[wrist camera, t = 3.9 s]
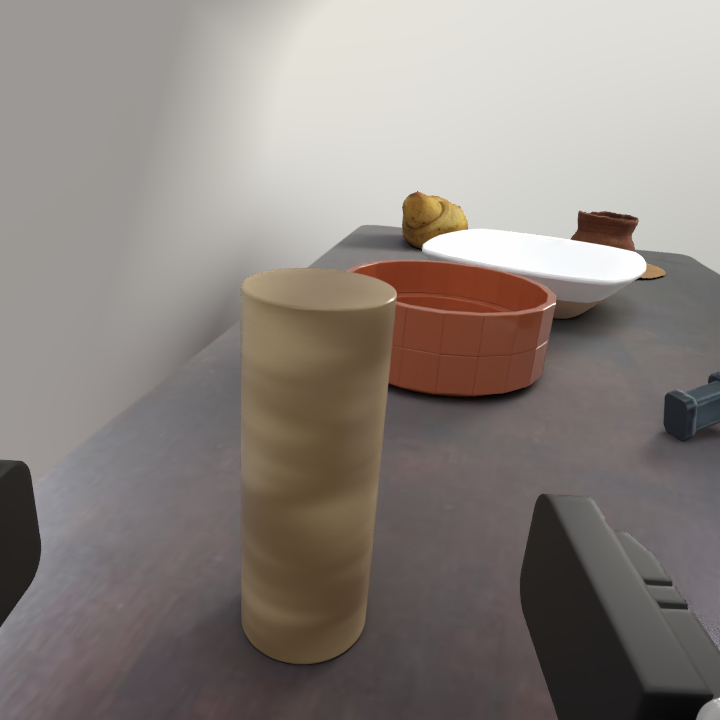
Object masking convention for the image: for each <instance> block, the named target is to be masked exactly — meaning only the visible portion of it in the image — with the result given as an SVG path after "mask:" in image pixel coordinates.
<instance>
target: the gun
mask: <svg viewBox="0 0 720 720" xmlns="http://www.w3.org/2000/svg"><path fill="white" fill-rule="evenodd" d="M717 423H720V371H718V372H716V373H713V374H712V375H710V376H709V379H708V384H707V385H704V386H701V387H698V388H696V389H693V390H690V391H687V392H685V393H684V392H682V391H681V390H679V389H677V390H674V391H671V392H669V393H667V394H666V395H665V405H664V427H665V429H666V431H667V432H669V433H670V434H672V435H673V436H675V437H677V438H678V439H680V440H681V441H683V440H686V439H688V438H691V437H693V436H694V435H695V432H696V431H699V430H702V429H704V428H707V427H709V426H712V425H715V424H717Z"/></svg>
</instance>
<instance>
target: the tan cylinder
mask: <svg viewBox="0 0 720 720" xmlns="http://www.w3.org/2000/svg"><path fill="white" fill-rule="evenodd" d="M396 300H397V293H396V290H395V289H394V288H393V287H392V286H391V285H389V284H388V283H386V282H384V281H381V280H379V279H376V278H373V277H370V276H366V275H362V274H358V273H353V272H347V271H340V270H331V269H316V268H293V269H279V270H272V271H266V272H261V273H258V274H255V275H252V276H250V277H248V278H246V279H245V280H244V281H243V282H242V285H241V622H242V627H243V630H244V632H245V634H246V636H247V638H248V639H249V641H250V642H251V643H252V644H253V645H254V646H255V647H256V648H257V649H258V650H259V651H261V652H262V653H264V654H265V655H267V656H269V657H271V658H273V659H276V660H279V661H282V662H287V663H293V664H312V663H318V662H323V661H326V660H329V659H332V658H334V657H336V656H338V655H340V654H342V653H343V652H345V651H346V650H347V649H349V648H350V647H351V646H352V645H353V644H354V643H355V642H356V640H357V639H358V638H359V636H360V634H361V633H362V630H363V628H364V624H365V619H366V609H367V599H368V588H369V578H370V568H371V557H372V547H373V537H374V527H375V516H376V506H377V496H378V485H379V475H380V465H381V455H382V444H383V434H384V424H385V413H386V403H387V393H388V383H389V372H390V362H391V352H392V341H393V331H394V321H395V311H396Z"/></svg>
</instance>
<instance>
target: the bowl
mask: <svg viewBox="0 0 720 720" xmlns="http://www.w3.org/2000/svg"><path fill="white" fill-rule="evenodd" d="M422 252H423V253H424V254H425V255H426V256H427V258H428V259H429V260H431V261H445V262H455V263H462V264H470V265H477V266H482V267H487V268H492V269H497V270H502V271H506V272H509V273H513V274H516V275H519V276H523V277H526V278H529V279H531V280H533V281H536V282H538V283H540V284H542V285H544V286H547V287H548V288H549V289H550V290H551V291H552V292H553V293H555V294H556V305H555V310H554V315H553V318H559V319H567V318H571V317H575V316H578V315H580V314H582V313H584V312H586V311H587V310H589V309H590V308H592V307H593V306H595V305H596V304H598V303H600V302H601V301H603V300H604V299H606V298H607V297H609V296H611V295H613V294H614V293H616V292H617V291H619V290H620V289H622V288H624V287H625V286H627V285H628V284H630V283H631V282H633V281H634V280H636V279H637V278H639V277H640V276H641V275H643V274H644V273H645V272H646V263H645V261H644V259H643V257H642V256H640V255H639V254H637V253H635V252H633V251H629V250H624V249H619V248H614V247H610V246H604V245H598V244H592V243H587V242H581V241H574V240H568V239H561V238H555V237H547V236H540V235H533V234H525V233H517V232H509V231H499V230H489V229H471V230H461V231H456V232H451V233H446V234H442V235H439V236H437V237H434V238H432V239H430V240H429V241H427V242H426V243H424V244H423V247H422Z"/></svg>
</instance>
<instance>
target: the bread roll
mask: <svg viewBox="0 0 720 720" xmlns="http://www.w3.org/2000/svg"><path fill="white" fill-rule="evenodd" d="M402 208H403V224H402V230H403V235H404V238H405V239H406V241H407V242H408V243H410V244H411V245H413V246H415V247H417V248H422V247H423V244H424V243H426V242H427V241H429V240H430V239H432V238H434V237H437V236H439V235H442V234H446V233H451V232H456V231H461V230H468V224H467V219H466V216H465V214H464V212H463V211H462V210H461V207H460V206H456V205H455V204H452V203H450V202H449V201H447V200H446V199H443V198H440V197H438V196H427V195H425V194H422V193H420V192H418V191H417V192H416V193H413V194H410V195H409V196H408V197H407V198H406V199H405V201H404V203H403V207H402Z"/></svg>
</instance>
